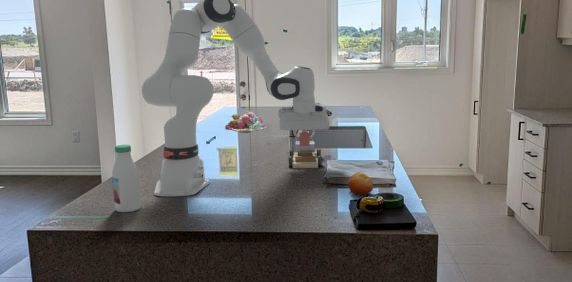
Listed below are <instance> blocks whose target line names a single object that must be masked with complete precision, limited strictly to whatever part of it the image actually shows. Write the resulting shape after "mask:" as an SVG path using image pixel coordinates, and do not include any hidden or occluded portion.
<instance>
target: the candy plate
mask: <svg viewBox="0 0 572 282" xmlns="http://www.w3.org/2000/svg"><path fill="white" fill-rule="evenodd" d="M230 117H231V118H232V120H231V119H230V120H229V122H228V124H225V126H224V128H225V129H226V130H232V131H233V132H241V133H242V132H257V131H263V130H265V129H266V128H267V127H266V125H265V123H264V121H263V119H262V116H261V115H259V114H257V115H256V114H255V113H253V112H252V111H249V110H245V111H244V114H243V115H241V114H232V115H231V116H230Z"/></svg>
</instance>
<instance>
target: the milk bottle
mask: <svg viewBox="0 0 572 282" xmlns="http://www.w3.org/2000/svg"><path fill="white" fill-rule="evenodd" d="M114 152H115V155H116V157H115V161H114V164H113V167H112V174H111V175H112V188H113V200H114V209H115V211H116V212H118V213H131V212H135V211H138V210H140V209H141V207H142V202H141V189H140V179H139V178H140V177H139V170H138V168H137V165H136V163H135V162H134V160H133V158H132V157H133V156H132V155H131V153H132V146H131V145H130V144H120V145H119V144H118V145H116V146H115V147H114Z"/></svg>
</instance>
